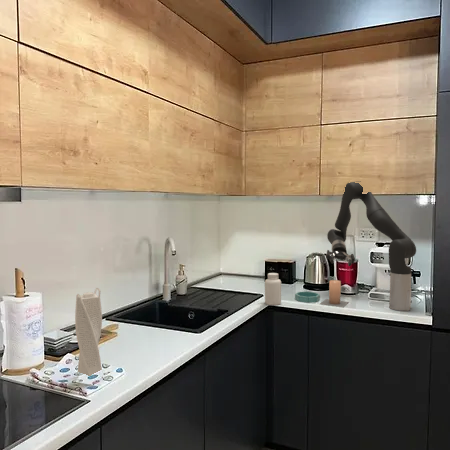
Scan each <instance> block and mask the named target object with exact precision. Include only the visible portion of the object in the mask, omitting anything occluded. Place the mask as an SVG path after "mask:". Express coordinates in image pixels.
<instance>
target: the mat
mask: <svg viewBox="0 0 450 450" xmlns="http://www.w3.org/2000/svg"><path fill="white" fill-rule="evenodd" d="M349 303H350V301H345V300H340V304H330V303H329V298H326V299H324V300H323V301H321V302H320V303H319V305H323V306H331V307H336V308H337V307H338V308H345V307H346V306H347V305H348V304H349Z"/></svg>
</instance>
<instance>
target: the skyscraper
mask: <svg viewBox="0 0 450 450" xmlns="http://www.w3.org/2000/svg"><path fill="white" fill-rule="evenodd" d="M97 291H98V295H97ZM102 312H103V311H102V301H101V289H100V288H99V287H95V289H94V292H89V291H88V292H83V293H82V294H81V295H80V294H79V293H77V294H76V300H75V311H74V313H75V315H74V316H75V317H74V318H75V321H74V323H75V333H76V340H77V345H78V348H79V354H78V365H77V373H78V372H80V373H83V374H86V375H88V376H91V375H92V374H94V373H96V372H98V371H100V370H102V371H103V369H102V362H101V356H100V349H99V344H100V339H101V334H102V333H101V332H102V327H103V326H102V325H103V313H102Z"/></svg>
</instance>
